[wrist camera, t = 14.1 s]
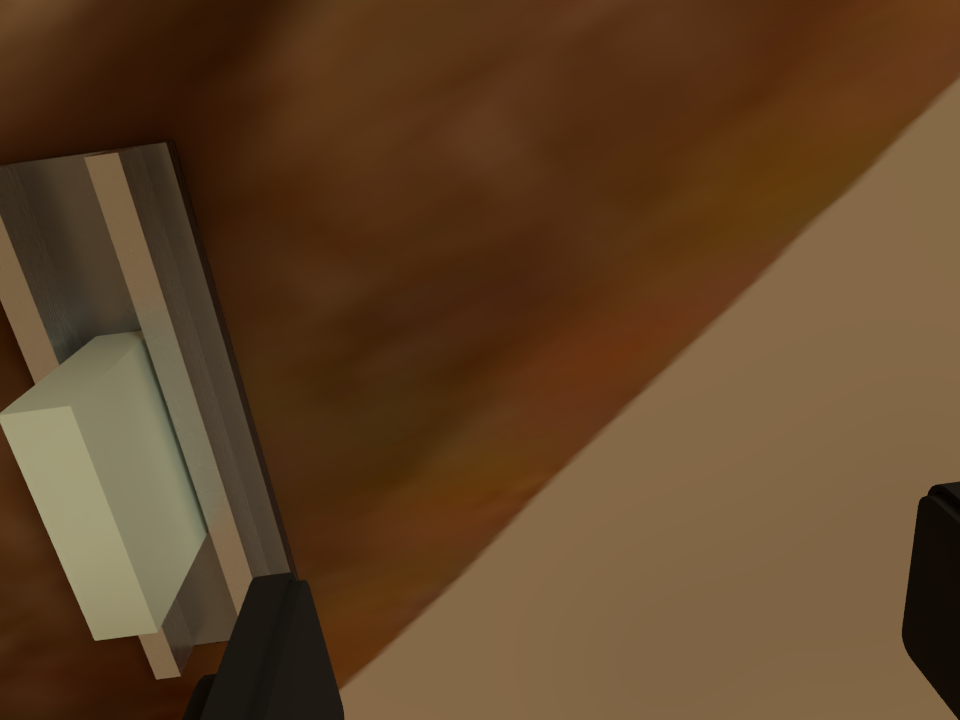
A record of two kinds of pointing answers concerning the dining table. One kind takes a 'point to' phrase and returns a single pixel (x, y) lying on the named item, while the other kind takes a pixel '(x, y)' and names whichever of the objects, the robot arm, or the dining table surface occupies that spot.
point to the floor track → (170, 340)
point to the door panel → (110, 483)
